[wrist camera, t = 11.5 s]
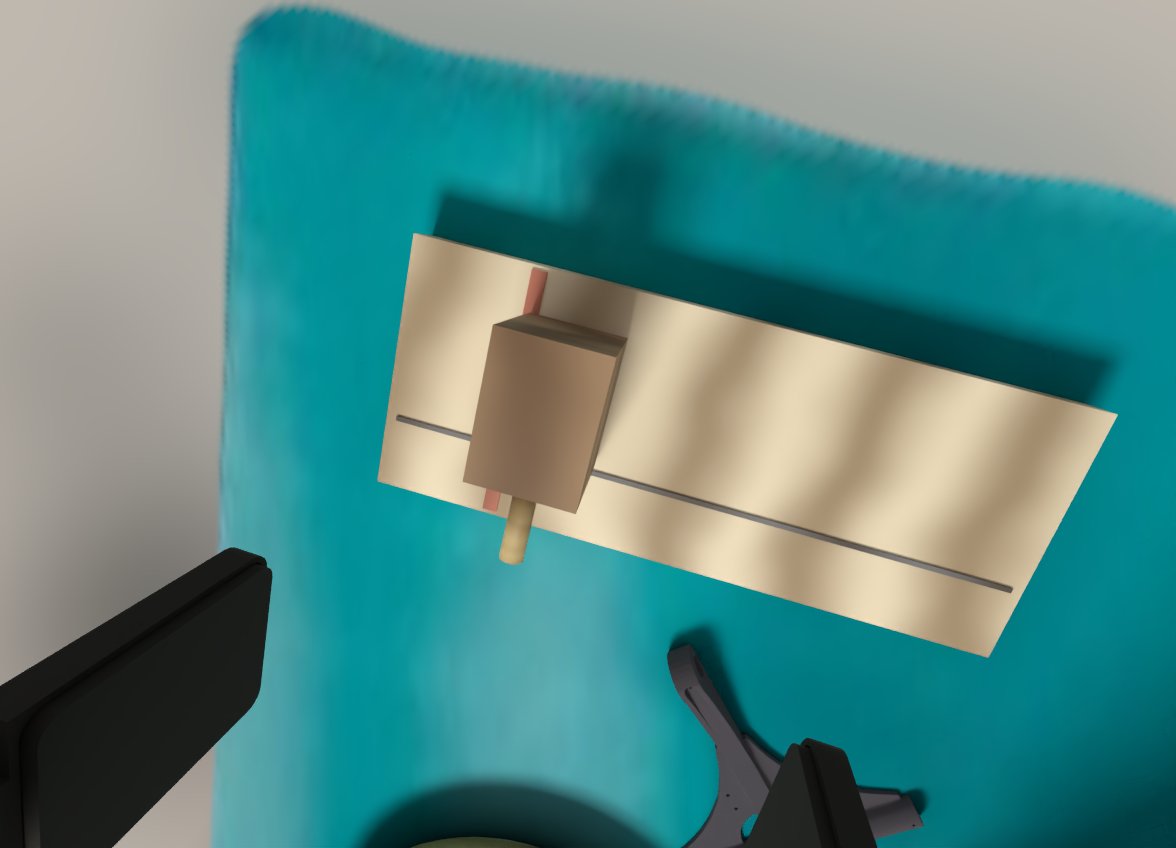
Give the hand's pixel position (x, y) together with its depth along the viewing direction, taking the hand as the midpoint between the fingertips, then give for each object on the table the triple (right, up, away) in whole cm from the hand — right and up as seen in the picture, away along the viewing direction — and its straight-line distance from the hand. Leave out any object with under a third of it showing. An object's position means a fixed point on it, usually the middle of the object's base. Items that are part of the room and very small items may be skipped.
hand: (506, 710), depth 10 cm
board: (+7, +4, +18) cm, 20 cm away
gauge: (0, +5, +16) cm, 17 cm away
